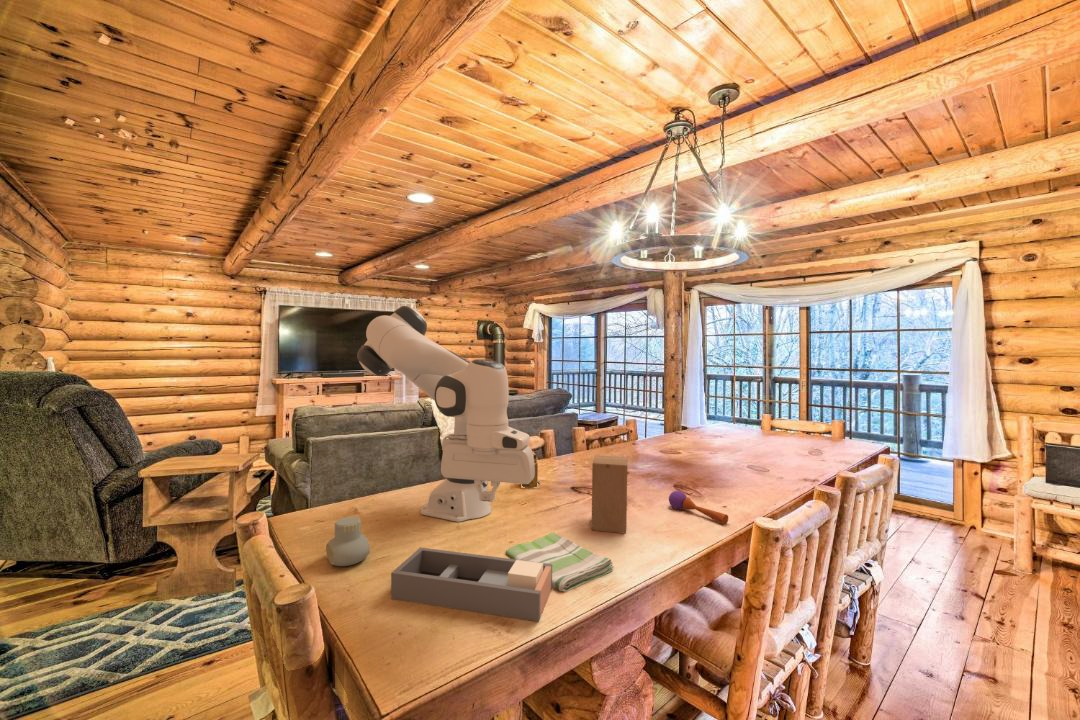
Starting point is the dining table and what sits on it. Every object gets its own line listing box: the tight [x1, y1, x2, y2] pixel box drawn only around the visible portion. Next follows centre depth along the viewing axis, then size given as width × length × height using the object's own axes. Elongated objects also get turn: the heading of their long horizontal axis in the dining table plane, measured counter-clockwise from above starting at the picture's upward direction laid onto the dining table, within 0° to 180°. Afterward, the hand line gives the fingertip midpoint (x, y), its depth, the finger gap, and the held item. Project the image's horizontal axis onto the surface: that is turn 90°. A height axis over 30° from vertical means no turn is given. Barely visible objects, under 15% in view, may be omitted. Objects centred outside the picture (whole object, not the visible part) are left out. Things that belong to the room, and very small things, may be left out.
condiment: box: [522, 453, 541, 489], centre depth 173 cm, size 7×8×12 cm
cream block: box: [508, 560, 543, 590], centre depth 94 cm, size 6×6×4 cm
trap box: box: [390, 547, 553, 623], centre depth 96 cm, size 32×12×6 cm, turn 77°
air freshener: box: [325, 516, 371, 567], centre depth 110 cm, size 11×8×10 cm
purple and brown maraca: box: [668, 490, 729, 526], centre depth 144 cm, size 6×6×20 cm
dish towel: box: [505, 532, 614, 593], centre depth 111 cm, size 17×23×4 cm
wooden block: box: [590, 454, 629, 534], centre depth 134 cm, size 10×10×20 cm
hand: (487, 500), depth 95 cm, fingers closed
